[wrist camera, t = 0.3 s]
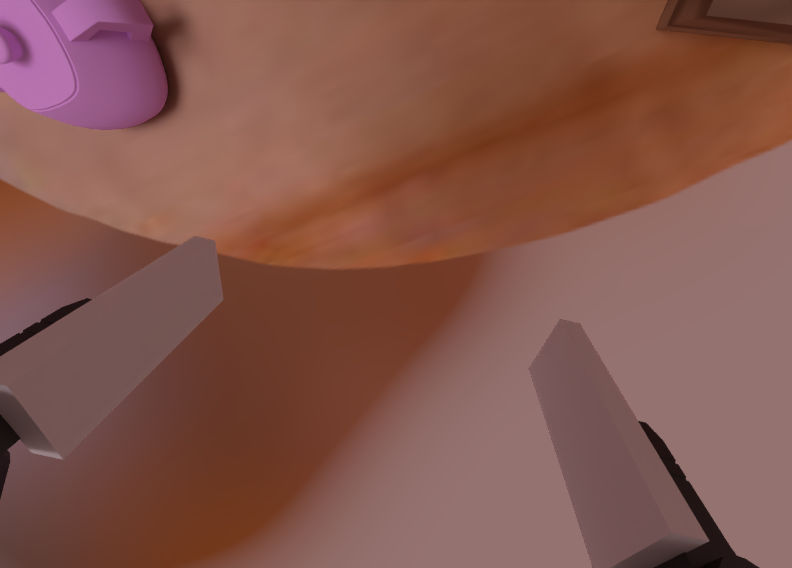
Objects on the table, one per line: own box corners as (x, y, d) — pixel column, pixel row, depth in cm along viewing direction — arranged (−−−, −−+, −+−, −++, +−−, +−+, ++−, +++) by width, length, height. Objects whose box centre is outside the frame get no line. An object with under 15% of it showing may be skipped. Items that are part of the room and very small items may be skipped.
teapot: (-10, 11, 32) (-193, -20, 23) (140, -71, 28) (-13, -152, 18) (86, 147, 39) (-25, 166, 29) (220, 99, 34) (138, 103, 25)
